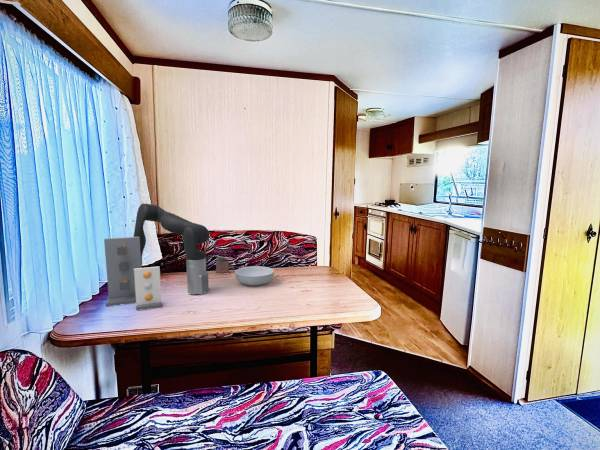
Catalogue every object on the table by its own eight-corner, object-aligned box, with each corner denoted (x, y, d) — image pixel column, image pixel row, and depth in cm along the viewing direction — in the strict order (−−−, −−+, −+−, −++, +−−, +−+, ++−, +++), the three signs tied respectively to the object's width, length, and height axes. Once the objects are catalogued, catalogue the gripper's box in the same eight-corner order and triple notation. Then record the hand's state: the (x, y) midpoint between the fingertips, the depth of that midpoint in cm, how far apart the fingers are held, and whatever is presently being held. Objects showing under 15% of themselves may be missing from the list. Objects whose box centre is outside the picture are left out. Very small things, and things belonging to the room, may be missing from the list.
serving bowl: (272, 289, 166) (272, 276, 165) (231, 289, 166) (230, 276, 165) (275, 277, 187) (275, 265, 186) (239, 277, 187) (239, 265, 186)
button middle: (121, 266, 155) (121, 259, 155) (129, 265, 157) (129, 258, 156) (119, 271, 147) (119, 263, 147) (128, 270, 149) (127, 262, 148)
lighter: (230, 272, 196) (229, 256, 194) (228, 274, 192) (227, 257, 191) (217, 272, 196) (216, 256, 195) (215, 274, 193) (214, 257, 192)
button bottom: (122, 284, 153) (121, 277, 153) (130, 283, 155) (129, 276, 154) (120, 290, 145) (119, 282, 145) (128, 289, 147) (128, 281, 146)
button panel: (110, 296, 155) (105, 236, 151) (144, 292, 161) (141, 234, 157) (105, 306, 143) (100, 241, 139) (143, 301, 149) (139, 239, 145)
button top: (119, 251, 151) (119, 244, 151) (128, 250, 153) (127, 243, 152) (117, 255, 143) (116, 247, 143) (126, 254, 145) (125, 247, 144)
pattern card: (137, 305, 144) (134, 267, 142) (161, 302, 148) (159, 265, 145) (136, 310, 138) (133, 270, 136) (161, 307, 142) (159, 268, 140)
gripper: (114, 265, 166) (109, 274, 151) (142, 263, 172) (141, 271, 156) (115, 279, 168) (110, 290, 152) (143, 276, 173) (142, 286, 157)
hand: (126, 280), depth 154 cm, fingers closed
